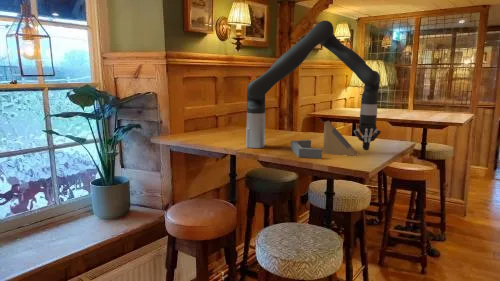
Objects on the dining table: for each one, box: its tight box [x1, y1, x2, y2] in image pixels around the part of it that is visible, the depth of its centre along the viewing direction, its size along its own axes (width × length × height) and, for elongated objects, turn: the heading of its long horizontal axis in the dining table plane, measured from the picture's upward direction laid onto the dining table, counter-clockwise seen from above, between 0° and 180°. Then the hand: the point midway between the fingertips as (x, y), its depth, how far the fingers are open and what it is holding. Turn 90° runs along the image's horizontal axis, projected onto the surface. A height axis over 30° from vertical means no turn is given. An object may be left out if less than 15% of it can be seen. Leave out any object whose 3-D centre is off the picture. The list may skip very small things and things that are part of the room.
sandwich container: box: [322, 120, 359, 157], centre depth 168 cm, size 9×15×15 cm, turn 66°
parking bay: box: [290, 139, 323, 159], centre depth 169 cm, size 10×24×4 cm, turn 5°
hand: (365, 149), depth 172 cm, fingers closed
